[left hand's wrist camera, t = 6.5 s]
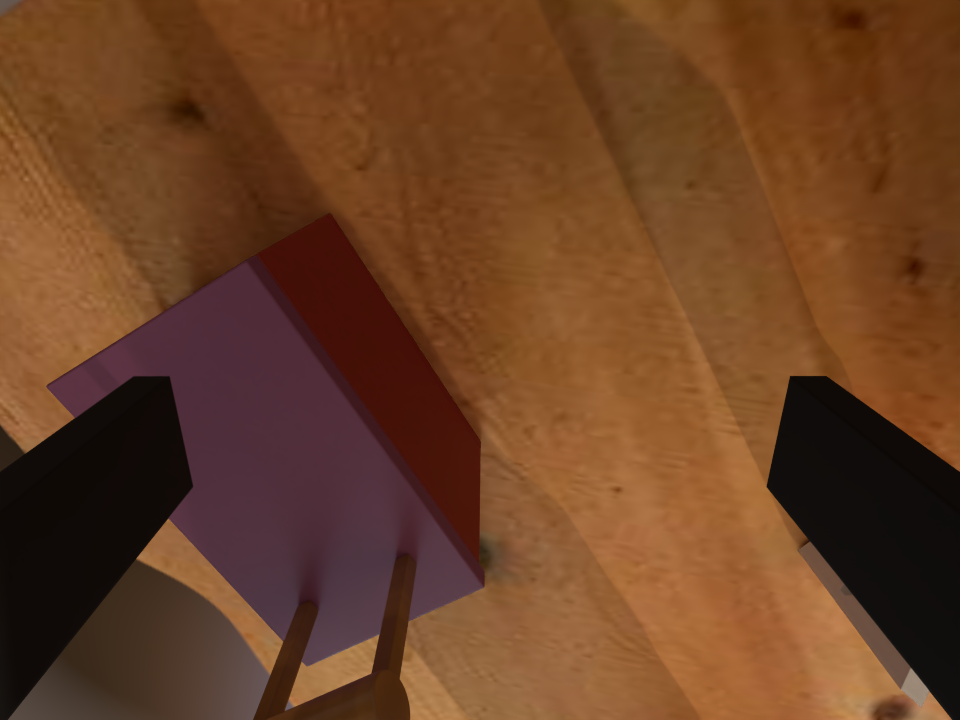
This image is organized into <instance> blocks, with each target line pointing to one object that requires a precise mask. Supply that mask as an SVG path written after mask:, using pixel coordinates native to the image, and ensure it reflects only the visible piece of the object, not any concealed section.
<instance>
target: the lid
mask: <svg viewBox="0 0 960 720" xmlns="http://www.w3.org/2000/svg"><path fill="white" fill-rule="evenodd" d="M133 376H170V379H171V384H172V389H173V393H174V398H175V403H176V407H177V412H178V417H179V422H180V426H181V431H182V436H183V440H184V445H185V450H186V454H187V459H188V464H189V468H190V473H191V478H192V482H193V488H192V489H191V490H190V492H189V493H188V494H187V495H186V497H185V498H184V499H183V500H182V502H181V503H180V504H179V505H178V507H177V508H176V509H175V511H174V512H173V513H172V514H171V516H170V517H169V519H170V520H171V521H172V522H173V523H174V525H175V526H176V527H177V528H178V529H179V530H180V531H181V532H182V533H183V534H184V535H185V536H186V537H187V539H188V540H189V541H190V542H191V543H192V544H193V545H194V546H195V547H196V548H197V549H198V550H199V551H200V552H201V554H202V555H203V556H204V557H205V558H206V559H207V560H208V561H209V562H210V563H211V564H212V565H213V566H214V567H215V569H216V570H217V571H218V572H219V573H220V574H221V575H222V576H223V577H224V578H225V579H226V580H227V581H228V583H229V584H230V585H231V586H232V587H233V588H234V589H235V590H236V591H237V592H238V593H239V594H240V595H241V596H242V598H243V599H244V600H245V601H246V602H247V603H248V604H249V605H250V606H251V607H252V608H253V609H254V610H255V611H256V613H257V614H258V615H259V616H260V617H261V618H262V619H263V620H264V621H265V622H266V623H267V624H268V625H269V627H270V628H271V629H272V630H273V631H274V632H275V633H276V634H277V635H278V636H279V637H280V638H281V639H282V640H283V645H282V647H281V650H280V652H279V655H278V658H277V660H276V663H275V665H274V668H273V670H272V673H271V675H270V678H269V681H268V683H267V686H266V688H265V691H264V693H263V696H262V699H261V701H260V704H259V706H258V709H257V711H256V714H255V716H254V719H253V720H410V707H409V701H408V697H407V694H406V691H405V688H404V686H403V684H402V682H401V681H400V672H401V666H402V659H403V653H404V646H405V640H406V633H407V627H408V621H410V620H413V619H415V618H417V617H419V616H421V615H424V614H426V613H428V612H430V611H433V610H435V609H437V608H439V607H442V606H444V605H446V604H448V603H451V602H453V601H455V600H457V599H459V598H462V597H464V596H466V595H468V594H471V593H473V592H475V591H477V590H480V589H482V588H484V570H483V569H482V567H481V566H480V565H479V563H478V562H477V560H476V559H475V558H474V556H473V555H472V553H471V552H470V551H469V549H468V548H467V547H466V545H465V544H464V542H463V541H462V540H461V538H460V537H459V535H458V534H457V533H456V531H455V530H454V529H453V527H452V526H451V524H450V523H449V522H448V520H447V519H446V517H445V516H444V515H443V513H442V512H441V511H440V509H439V508H438V506H437V505H436V504H435V502H434V501H433V499H432V498H431V497H430V495H429V494H428V493H427V491H426V490H425V488H424V487H423V486H422V484H421V483H420V481H419V480H418V479H417V477H416V476H415V475H414V473H413V472H412V470H411V469H410V468H409V466H408V465H407V463H406V462H405V461H404V459H403V458H402V457H401V455H400V454H399V452H398V451H397V450H396V448H395V447H394V445H393V444H392V443H391V441H390V440H389V439H388V437H387V436H386V434H385V433H384V432H383V430H382V429H381V427H380V426H379V425H378V423H377V422H376V421H375V419H374V418H373V416H372V415H371V414H370V412H369V411H368V409H367V408H366V407H365V405H364V404H363V403H362V401H361V400H360V398H359V397H358V396H357V394H356V393H355V391H354V390H353V389H352V387H351V386H350V385H349V383H348V382H347V380H346V379H345V378H344V376H343V375H342V373H341V372H340V371H339V369H338V368H337V366H336V365H335V364H334V362H333V361H332V360H331V358H330V357H329V355H328V354H327V353H326V351H325V350H324V348H323V347H322V346H321V344H320V343H319V342H318V340H317V339H316V337H315V336H314V335H313V333H312V332H311V330H310V329H309V328H308V326H307V325H306V324H305V322H304V321H303V319H302V318H301V317H300V315H299V314H298V312H297V311H296V310H295V308H294V307H293V306H292V304H291V303H290V301H289V300H288V299H287V297H286V296H285V294H284V293H283V292H282V290H281V289H280V288H279V286H278V285H277V283H276V282H275V281H274V279H273V278H272V276H271V275H270V274H269V272H268V271H267V270H266V268H265V267H264V265H263V264H262V263H261V261H260V260H259V258H258V257H257V256H252V257H251V258H249V259H247V260H245V261H244V262H242V263H240V264H239V265H237V266H236V267H234V268H232V269H231V270H229V271H228V272H226V273H224V274H223V275H221V276H220V277H218V278H216V279H215V280H213V281H212V282H210V283H209V284H207V285H205V286H204V287H202V288H201V289H199V290H197V291H196V292H194V293H193V294H191V295H189V296H188V297H186V298H185V299H183V300H181V301H180V302H178V303H177V304H175V305H173V306H172V307H170V308H169V309H167V310H166V311H164V312H162V313H161V314H159V315H158V316H156V317H154V318H153V319H151V320H150V321H148V322H146V323H145V324H143V325H142V326H140V327H138V328H137V329H135V330H134V331H132V332H131V333H129V334H127V335H126V336H124V337H123V338H121V339H119V340H118V341H116V342H115V343H113V344H111V345H110V346H108V347H107V348H105V349H103V350H102V351H100V352H99V353H97V354H95V355H94V356H92V357H91V358H89V359H88V360H86V361H84V362H83V363H81V364H80V365H78V366H76V367H75V368H73V369H72V370H70V371H68V372H67V373H65V374H64V375H62V376H60V377H59V378H57V379H56V380H54V381H52V382H51V383H49V384H48V385H47V386H46V387H47V388H48V389H49V390H50V391H51V393H52V394H53V395H54V396H55V397H56V398H57V399H58V400H59V401H60V402H61V403H62V404H63V405H64V407H65V408H66V409H67V410H68V411H69V412H70V413H71V414H72V415H73V416H74V417H75V418H76V417H77V416H79V415H80V414H82V413H83V412H84V411H86V410H87V409H89V408H90V407H91V406H93V405H94V404H95V403H97V402H98V401H100V400H101V399H102V398H104V397H105V396H107V395H108V394H109V393H111V392H112V391H114V390H115V389H116V388H118V387H119V386H121V385H122V384H123V383H125V382H126V381H128V380H129V379H130V378H132V377H133ZM379 634H380V635H379ZM377 635H379V640H378V645H377V650H376V655H375V659H374V664H373V669H372V674H370V675H367V676H365V677H363V678H360V679H358V680H356V681H354V682H351V683H349V684H347V685H344V686H342V687H340V688H337V689H335V690H333V691H330V692H328V693H326V694H324V695H321V696H319V697H317V698H314V699H312V700H310V701H307V702H305V703H303V704H300V705H298V706H296V707H294V708H291V709H289V710H287V711H285V708H286V705H287V703H288V700H289V697H290V694H291V691H292V688H293V685H294V682H295V679H296V676H297V673H298V670H299V668H300V665H301V662H303V663H304V664H305V665H306V666H310V665H312V664H314V663H316V662H319V661H321V660H323V659H325V658H328V657H330V656H332V655H334V654H337V653H339V652H341V651H343V650H345V649H348V648H350V647H352V646H354V645H357V644H359V643H361V642H363V641H366V640H368V639H370V638H372V637H375V636H377Z"/></svg>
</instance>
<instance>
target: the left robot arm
mask: <svg viewBox="0 0 960 720" xmlns="http://www.w3.org/2000/svg"><path fill="white" fill-rule="evenodd" d="M192 488H193V482H192V478H191V473H190V468H189V464H188V459H187V454H186V450H185V445H184V440H183V436H182V431H181V426H180V422H179V417H178V412H177V407H176V403H175V398H174V393H173V389H172V384H171V379H170V376H133V377H132V378H130V379H129V380H128V381H126V382H125V383H123V384H122V385H121V386H119V387H118V388H116V389H115V390H114V391H112V392H111V393H109V394H108V395H107V396H105V397H104V398H102V399H101V400H100V401H98V402H97V403H95V404H94V405H93V406H91V407H90V408H89V409H87V410H86V411H84V412H83V413H82V414H80V415H79V416H77V417H76V418H75V419H73V420H72V421H70V422H69V423H68V424H66V425H65V426H63V427H62V428H61V429H59V430H58V431H57V432H55V433H54V434H52V435H51V436H50V437H48V438H47V439H45V440H44V441H43V442H41V443H40V444H38V445H37V446H36V447H34V448H33V449H31V450H30V451H29V452H27V453H26V454H25V455H23V456H22V457H20V458H19V459H18V460H16V461H15V462H13V463H12V464H11V465H9V466H8V467H7V468H5V469H4V470H2V471H1V472H0V720H8V719H9V717H10V716H11V715H12V714H13V712H14V711H15V710H16V709H17V707H18V706H19V705H20V704H21V702H22V701H23V700H24V699H25V697H26V696H27V695H28V694H29V692H30V691H31V690H32V689H33V687H34V686H35V685H36V684H37V682H38V681H39V680H40V679H41V677H42V676H43V675H44V674H45V672H46V671H47V670H48V668H49V667H50V666H51V665H52V663H53V662H54V661H55V660H56V659H57V657H58V656H59V655H60V653H61V652H62V651H63V650H64V648H65V647H66V646H67V645H68V643H69V642H70V641H71V640H72V638H73V637H74V636H75V635H76V633H77V632H78V631H79V630H80V628H81V627H82V626H83V625H84V623H85V622H86V621H87V620H88V618H89V617H90V616H91V615H92V613H93V612H94V611H95V610H96V608H97V607H98V606H99V605H100V603H101V602H102V601H103V600H104V598H105V597H106V596H107V594H108V593H109V592H110V591H111V590H112V588H113V587H114V586H115V584H116V583H117V582H118V581H119V579H120V578H121V577H122V576H123V574H124V573H125V572H126V571H127V569H128V568H129V567H130V566H131V564H132V563H133V562H134V561H135V559H136V558H137V557H138V556H139V554H140V553H141V552H142V551H143V549H144V548H145V547H146V546H147V544H148V543H149V542H150V541H151V539H152V538H153V537H154V536H155V534H156V533H157V532H158V531H159V529H160V528H161V527H162V526H163V524H164V523H165V522H166V521H167V519H168V518H169V517H170V516H171V514H172V513H173V512H174V511H175V509H176V508H177V507H178V505H179V504H180V503H181V502H182V500H183V499H184V498H185V497H186V495H187V494H188V493H189V492H190V490H191V489H192ZM767 488H768V489H769V490H770V492H771V493H772V494H773V495H774V497H775V498H776V499H777V500H778V502H779V503H780V504H781V505H782V507H783V508H784V509H785V511H786V512H787V513H788V514H789V516H790V517H791V518H792V519H793V521H794V522H795V523H796V524H797V526H798V527H799V528H800V529H801V531H802V532H803V533H804V534H805V536H806V537H807V538H808V539H809V541H810V542H811V543H812V544H813V546H814V547H815V548H816V549H817V551H818V552H819V553H820V554H821V556H822V557H823V558H824V559H825V561H826V562H827V563H828V564H829V566H830V567H831V568H832V569H833V571H834V572H835V573H836V574H837V576H838V577H839V578H840V580H841V581H842V582H843V583H844V585H845V586H846V587H847V588H848V590H849V591H850V592H851V593H852V595H853V596H854V597H855V598H856V600H857V601H858V602H859V603H860V605H861V606H862V607H863V608H864V610H865V611H866V612H867V613H868V615H869V616H870V617H871V618H872V620H873V621H874V622H875V623H876V625H877V626H878V627H879V628H880V630H881V631H882V632H883V633H884V635H885V636H886V637H887V638H888V640H889V641H890V642H891V643H892V645H893V646H894V647H895V648H896V650H897V651H898V652H899V654H900V655H901V656H902V657H903V659H904V660H905V661H906V662H907V664H908V665H909V666H910V667H911V669H912V670H913V671H914V672H915V674H916V675H917V676H918V677H919V679H920V680H921V681H922V682H923V684H924V685H925V686H926V687H927V689H928V690H929V691H930V692H931V694H932V695H933V696H934V697H935V699H936V700H937V701H938V702H939V704H940V705H941V706H942V707H943V709H944V710H945V711H946V712H947V714H948V715H949V716H950V717H951V719H952V720H960V472H959V471H958V470H956V469H955V468H954V467H952V466H951V465H949V464H948V463H947V462H945V461H944V460H942V459H941V458H940V457H938V456H937V455H935V454H934V453H933V452H931V451H930V450H929V449H927V448H926V447H924V446H923V445H922V444H920V443H919V442H917V441H916V440H915V439H913V438H912V437H910V436H909V435H908V434H906V433H905V432H903V431H902V430H901V429H899V428H898V427H897V426H895V425H894V424H892V423H891V422H890V421H888V420H887V419H885V418H884V417H883V416H881V415H880V414H878V413H877V412H876V411H874V410H873V409H871V408H870V407H869V406H867V405H866V404H864V403H863V402H862V401H860V400H859V399H858V398H856V397H855V396H853V395H852V394H851V393H849V392H848V391H846V390H845V389H844V388H842V387H841V386H839V385H838V384H837V383H835V382H834V381H832V380H831V379H830V378H828V377H827V376H790V379H789V384H788V389H787V393H786V398H785V403H784V407H783V412H782V417H781V422H780V426H779V431H778V436H777V440H776V445H775V450H774V454H773V459H772V464H771V468H770V473H769V478H768V482H767Z"/></svg>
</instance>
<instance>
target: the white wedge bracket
mask: <svg viewBox="0 0 960 720" xmlns="http://www.w3.org/2000/svg"><path fill="white" fill-rule="evenodd" d="M798 551H799V553H800V554H801V555H802V557H803V558H804V559H805V561H806V562H807V563H808V565H809V566H810V568H811V569H812V570H813V572H814V573H815V574H816V576H817V577H818V578H819V580H820V581H821V582H822V584H823V585H824V586H825V588H826V589H827V591H828V592H829V593H830V595H831V596H832V597H833V599H834V600H835V601H836V603H837V604H838V605H839V607H840V608H841V609H842V611H843V612H844V614H845V615H846V616H847V618H848V619H849V620H850V622H851V623H852V624H853V626H854V627H855V628H856V630H857V631H858V632H859V634H860V635H861V636H862V638H863V639H864V641H865V642H866V643H867V645H868V646H869V647H870V649H871V650H872V651H873V653H874V654H875V655H876V657H877V658H878V659H879V661H880V662H881V664H882V665H883V666H884V668H885V669H886V670H887V672H888V673H889V674H890V676H891V677H892V678H893V680H894V681H895V682H896V684H897V685H898V687H899V688H900V689H901V690H902V691H903V692H904V693H905V694H907V695H908V696H909V697H910V698H911V699H912V700H914V701H915V702H916V703H917V704H918V705H919V706H921V707H922V706H923V704H924V701H925V699H926V697H927V695H928V693H929V690H928V689H927V687H926V686H925V685H924V684H923V682H922V681H921V680H920V679H919V677H918V676H917V675H916V674H915V672H914V671H913V670H912V669H911V667H910V666H909V665H908V664H907V662H906V661H905V660H904V659H903V657H902V656H901V655H900V654H899V652H898V651H897V650H896V648H895V647H894V646H893V645H892V643H891V642H890V641H889V640H888V638H887V637H886V636H885V635H884V633H883V632H882V631H881V630H880V628H879V627H878V626H877V625H876V623H875V622H874V621H873V620H872V618H871V617H870V616H869V615H868V613H867V612H866V611H865V610H864V608H863V607H862V606H861V605H860V603H859V602H858V601H857V600H856V598H855V597H854V596H853V595H852V593H851V592H850V591H849V590H848V588H847V587H846V586H845V585H844V583H843V582H842V581H841V580H840V578H839V577H838V576H837V574H836V573H835V572H834V571H833V569H832V568H831V567H830V566H829V564H828V563H827V562H826V561H825V559H824V558H823V557H822V556H821V554H820V553H819V552H818V551H817V549H816V548H815V547H814V546H813V544H812V543H811V542H809V543H807V544H806V545H804V546H803V547H802V548H800V549H799V550H798Z"/></svg>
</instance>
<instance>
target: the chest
mask: <svg viewBox="0 0 960 720" xmlns="http://www.w3.org/2000/svg"><path fill="white" fill-rule="evenodd" d="M254 256H257V257H258V258H259V260H260V261H261V263H262V264H263V265H264V267H265V268H266V270H267V271H268V272H269V274H270V275H271V276H272V278H273V279H274V281H275V282H276V283H277V285H278V286H279V288H280V289H281V290H282V292H283V293H284V294H285V296H286V297H287V299H288V300H289V301H290V303H291V304H292V306H293V307H294V308H295V310H296V311H297V312H298V314H299V315H300V317H301V318H302V319H303V321H304V322H305V324H306V325H307V326H308V328H309V329H310V330H311V332H312V333H313V335H314V336H315V337H316V339H317V340H318V342H319V343H320V344H321V346H322V347H323V348H324V350H325V351H326V353H327V354H328V355H329V357H330V358H331V360H332V361H333V362H334V364H335V365H336V366H337V368H338V369H339V371H340V372H341V373H342V375H343V376H344V378H345V379H346V380H347V382H348V383H349V385H350V386H351V387H352V389H353V390H354V391H355V393H356V394H357V396H358V397H359V398H360V400H361V401H362V403H363V404H364V405H365V407H366V408H367V409H368V411H369V412H370V414H371V415H372V416H373V418H374V419H375V421H376V422H377V423H378V425H379V426H380V427H381V429H382V430H383V432H384V433H385V434H386V436H387V437H388V439H389V440H390V441H391V443H392V444H393V445H394V447H395V448H396V450H397V451H398V452H399V454H400V455H401V457H402V458H403V459H404V461H405V462H406V463H407V465H408V466H409V468H410V469H411V470H412V472H413V473H414V475H415V476H416V477H417V479H418V480H419V481H420V483H421V484H422V486H423V487H424V488H425V490H426V491H427V493H428V494H429V495H430V497H431V498H432V499H433V501H434V502H435V504H436V505H437V506H438V508H439V509H440V511H441V512H442V513H443V515H444V516H445V517H446V519H447V520H448V522H449V523H450V524H451V526H452V527H453V529H454V530H455V531H456V533H457V534H458V535H459V537H460V538H461V540H462V541H463V542H464V544H465V545H466V547H467V548H468V549H469V551H470V552H471V553H472V555H473V556H474V558H475V559H476V560H477V562H479V527H480V450H481V449H480V448H481V442H480V440H479V438H478V437H477V435H476V434H475V432H474V431H473V429H472V428H471V426H470V425H469V423H468V422H467V420H466V419H465V417H464V416H463V414H462V413H461V411H460V410H459V408H458V407H457V405H456V404H455V402H454V400H453V399H452V397H451V396H450V394H449V393H448V391H447V390H446V388H445V387H444V385H443V384H442V382H441V381H440V379H439V378H438V376H437V375H436V373H435V372H434V370H433V369H432V367H431V366H430V364H429V362H428V361H427V359H426V358H425V356H424V355H423V353H422V352H421V350H420V349H419V347H418V346H417V344H416V343H415V341H414V340H413V338H412V337H411V335H410V334H409V332H408V331H407V329H406V327H405V326H404V324H403V323H402V321H401V320H400V318H399V317H398V315H397V314H396V312H395V311H394V309H393V308H392V306H391V305H390V303H389V302H388V300H387V299H386V297H385V296H384V294H383V293H382V291H381V289H380V288H379V286H378V285H377V283H376V282H375V280H374V279H373V277H372V276H371V274H370V273H369V271H368V270H367V268H366V267H365V265H364V264H363V262H362V261H361V259H360V258H359V256H358V255H357V253H356V251H355V250H354V248H353V247H352V245H351V244H350V242H349V241H348V239H347V238H346V236H345V235H344V233H343V232H342V230H341V229H340V227H339V226H338V224H337V223H336V221H335V220H334V218H333V217H332V215H331V214H330V213H329V214H327V215H326V216H324V217H322V218H320V219H318V220H317V221H315V222H313V223H311V224H309V225H308V226H306V227H304V228H302V229H301V230H299V231H297V232H295V233H293V234H292V235H290V236H288V237H286V238H284V239H283V240H281V241H279V242H277V243H276V244H274V245H272V246H270V247H268V248H267V249H265V250H263V251H261V252H259V253H258V254H256V255H254Z"/></svg>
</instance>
